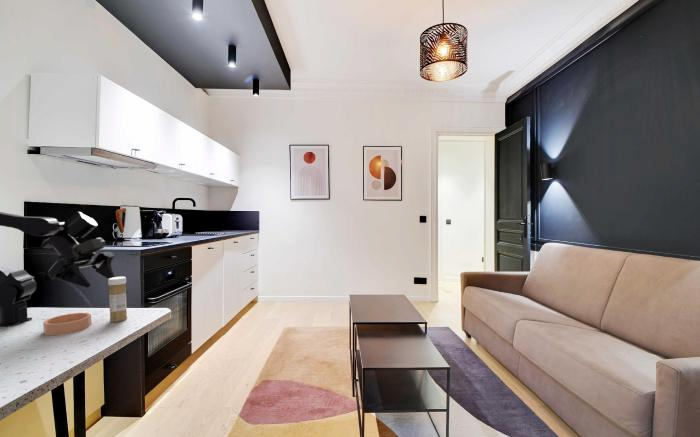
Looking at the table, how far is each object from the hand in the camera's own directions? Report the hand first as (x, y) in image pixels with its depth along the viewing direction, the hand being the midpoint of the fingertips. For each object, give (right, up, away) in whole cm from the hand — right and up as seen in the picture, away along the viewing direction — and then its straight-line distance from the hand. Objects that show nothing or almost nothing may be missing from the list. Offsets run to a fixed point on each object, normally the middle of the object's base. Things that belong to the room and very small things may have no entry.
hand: (102, 283), depth 104 cm
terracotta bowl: (-4, -12, -7) cm, 15 cm away
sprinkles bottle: (+5, -12, 0) cm, 13 cm away
